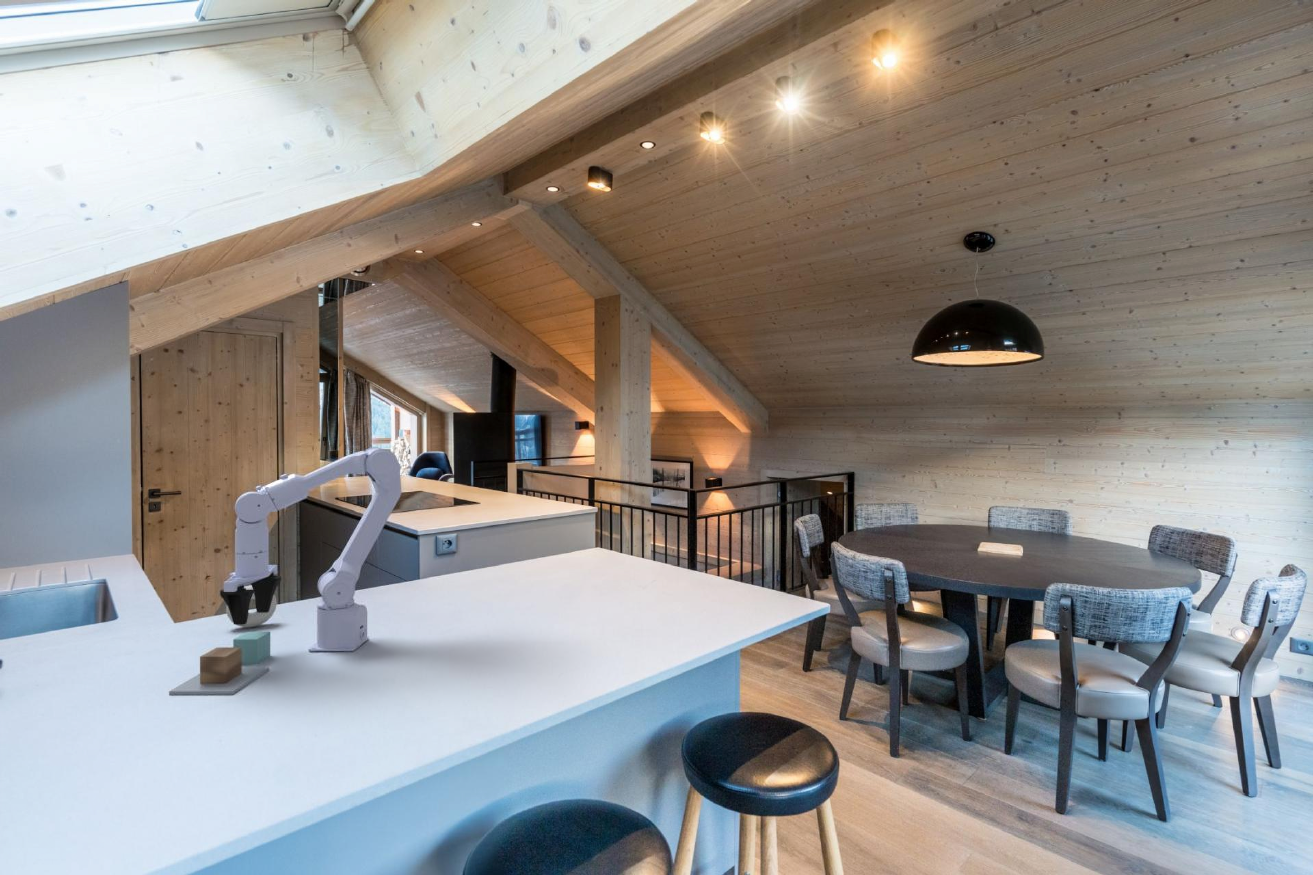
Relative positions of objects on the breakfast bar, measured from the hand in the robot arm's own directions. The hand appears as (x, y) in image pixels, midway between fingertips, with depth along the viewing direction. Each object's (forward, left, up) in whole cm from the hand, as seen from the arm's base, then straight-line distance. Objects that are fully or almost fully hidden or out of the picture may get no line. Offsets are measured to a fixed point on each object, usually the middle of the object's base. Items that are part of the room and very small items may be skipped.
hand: (251, 617), depth 126 cm
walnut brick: (-1, +11, -8) cm, 13 cm away
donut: (+12, -20, -9) cm, 25 cm away
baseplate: (-1, +11, -8) cm, 14 cm away
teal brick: (0, 0, -9) cm, 9 cm away
